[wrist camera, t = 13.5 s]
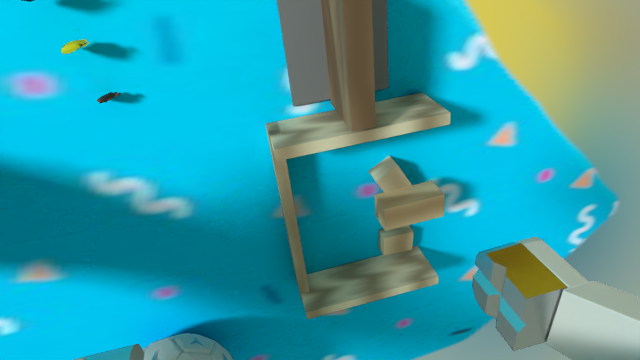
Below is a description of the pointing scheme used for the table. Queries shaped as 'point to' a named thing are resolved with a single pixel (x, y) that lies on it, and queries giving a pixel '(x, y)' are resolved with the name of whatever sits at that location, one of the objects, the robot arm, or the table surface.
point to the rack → (288, 142)
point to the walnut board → (350, 60)
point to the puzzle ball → (186, 349)
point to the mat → (322, 48)
